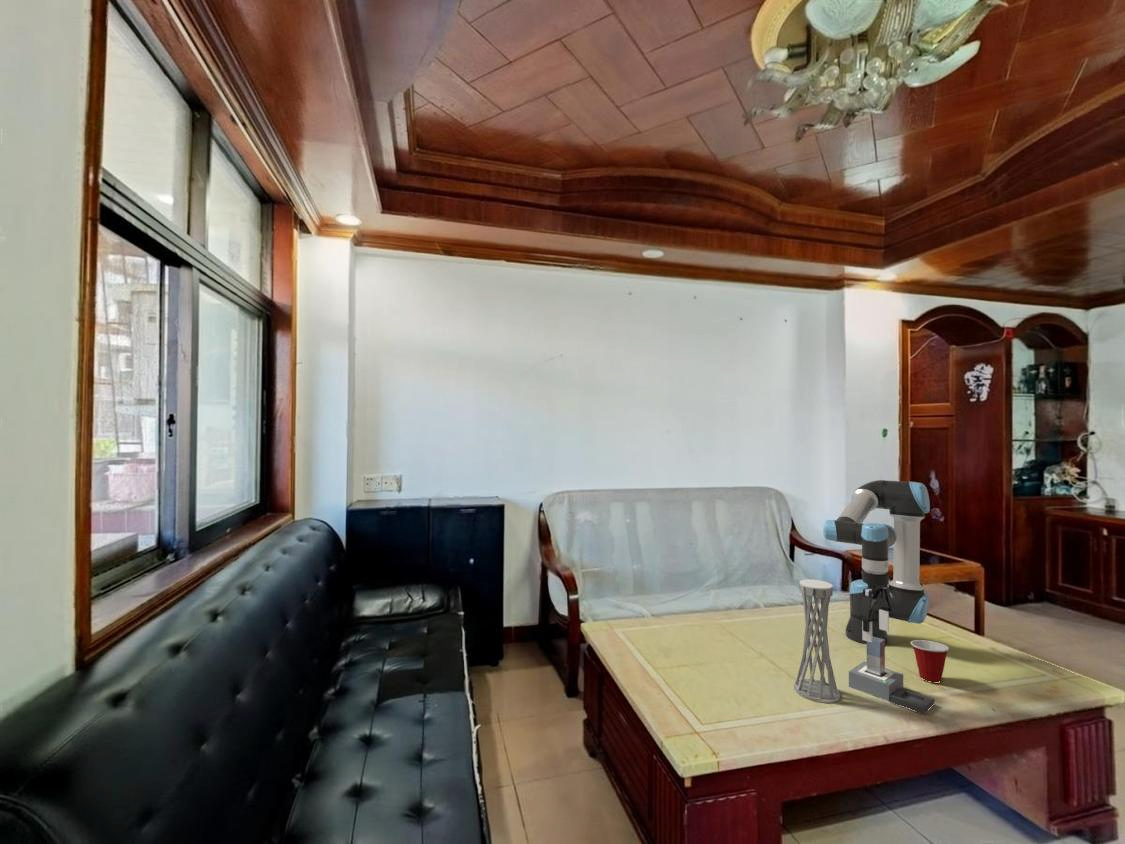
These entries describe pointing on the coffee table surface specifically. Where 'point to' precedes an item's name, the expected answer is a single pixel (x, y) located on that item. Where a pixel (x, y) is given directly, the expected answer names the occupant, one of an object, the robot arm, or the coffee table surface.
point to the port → (875, 681)
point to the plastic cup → (930, 659)
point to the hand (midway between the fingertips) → (875, 635)
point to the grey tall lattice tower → (816, 644)
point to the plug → (876, 657)
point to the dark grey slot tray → (912, 700)
